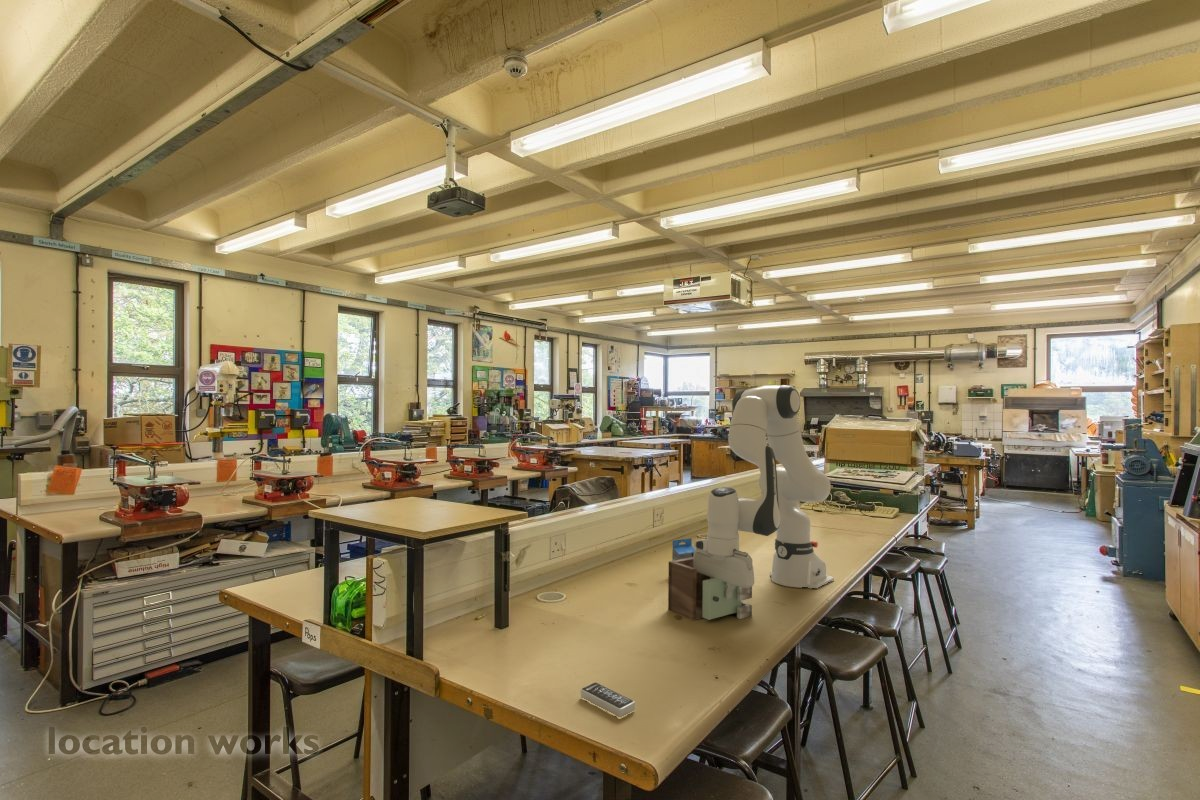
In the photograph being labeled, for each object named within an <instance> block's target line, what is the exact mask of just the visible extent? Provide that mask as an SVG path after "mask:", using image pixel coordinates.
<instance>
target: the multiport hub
mask: <svg viewBox="0 0 1200 800" xmlns="http://www.w3.org/2000/svg"><path fill="white" fill-rule="evenodd" d="M581 698H584V699H586V700H588V701H590V702H591V703H593V704H595V705H597V706H599V707H601V708H603V709H605V710H607V711H609V712H611V713H613V714H615V715H616V716H618V717H622V716H624V715H626V714H628V713H630V712H632V711H634V710H636V708H635V706H636V705H635V703H636V702H635V700H633V699H632V698H630V697H627V696H625V695H623V694H621V693H619V692H617V691H615V690H613V689H611V688H609V687H607V686H604V685H603V684H600V683H598V682H592V683H590V684H589V685H586V686H584V687H582V688H581V689H580V699H581Z"/></svg>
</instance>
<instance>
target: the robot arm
mask: <svg viewBox="0 0 1200 800" xmlns="http://www.w3.org/2000/svg"><path fill="white" fill-rule="evenodd" d="M731 407H732V416H731V420H730V424H729V429H728V445H729V449H730V450H731V451H732V452H733V453H734V454H735V456H738V457H739V458H741V459H742V460H744V461H746V462H749V463H751V464H753V465H755V466H756V467H758V469H759V471H760V473H759V478H758V485H759V488H760V491H761V492H760V493H761V495H760V497H759V498H748V497H741V496H738V491H737V490H736V489H735V488H732V487H728V486H727V487H726V486H725V487H724V486H721V487H717V488H714V489H712V490H710V492H709V496H708V500H707V501H708V502H707V513H706V515H707V516H706V519H707V523H708V528H707V534H706V538H703V539H697V540H694V542H693V547H694V548H695V550H694V555H693V567H694V568H696V569H697V573H700V574H703V575H706V576H709V577H710V579H713V578H717V579H720V580H722V581H724V582H726V586H728V588H727V590H726V591H724V597H725V598H728V599H729V598H731V597H732V591H733V589H734V588H735V585H736V586H739V587H742V588H749V587H752V588H753V586H754V585H755V571H754V570H755V569H754V565H753V558H752V557H751V555H750V554H749V553H748V552H746V551H742V550H740V534H739V532H744V533H752V534H757V535H759V536H760V535H761V536H764V537H769V536H771V535H772V534H774V533H775V532H776V535H775V536H776V538H775V539H774V550H775V552H774V553H773V558H772V567H771V568H772V569H771V572H770V573H769V577H771V578H770V580H771V581H772V582H773V583H775V584H777V585H781V586H785V587H789V588H799V589H800V588H802V587H808V588H807V589H812V588H817V589H819V588H818V587H820V586H822V585H824V584H826V583H828V582H830V581H832V580H835V578H834V577H833V576H831V575H829V574H827V565H826V563H825V561H824V560H823V559H822V558H820V557H819V556H818V555H817V554H816V553H815V552H814V551H815V550H814V548H818V547H819V542H818V541H813V540H811V519H810V517H809V516H808V514H807V513H806V512H804V511H803V510H802V509H801V508H800V506H799V504H798V502H802V503H803V502H804V503H822V502H824V501H825V500H827V498H828V497H829V495H830V493H831V489H832V487H831V482H830V479H829V477H828V476H827V475H826V474H825V473H824V472H823V471H821V470H820V469H819V468H818V467H817V466H816V465H815V464H814V463H813V461H812V460H811V459H810V457H809V455H808V453H807V451H806V448H805V446H804V440H803V437H802V433H801V427H800V423H799V419H798V415H797V414H798V412H799V411H800V409H801V408H800V407H801V397H800V393H799V392H798V390H797V389H796V388H795V387H794V386H792V385H785V384H782V385H763V386H758V387H757V386H756V387H752V388H744V389H743V388H742V389H741V390H738V391H737V392H736V393H735V394H734V395H733V397H732V401H731ZM777 462H778V463H780V464H781V466H777ZM832 582H833V581H832ZM830 583H831V582H830ZM828 584H829V583H828ZM826 585H827V584H826ZM824 586H825V585H824ZM822 587H823V586H822ZM820 588H821V587H820Z"/></svg>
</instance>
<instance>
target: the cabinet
mask: <svg viewBox="0 0 1200 800" xmlns="http://www.w3.org/2000/svg"><path fill="white" fill-rule="evenodd" d="M708 579H710V577H709V576H706V575H703V574H700V573H697V569H696V568H694V567H693V557H691V558H686V559H680V560H675V561H672V560H670V561H668V583H667V584H668V587H667V589H668V590H667V591H668V598H667V599H668V601H667V603H668V605H667V608H668V609H667V610H668V611H670V612H672V613H675V614H677V615H679V616H681V617H684V618H685V619H688V620H690V621H695V620H699V619H702V618H703V617H702V604H703V581H704V580H708ZM751 599H753V586H752V587H749V588H742V587H738V588H737V600H738V601H742V606H740V607H737V612H736V619H739V620H741V619H745V618H749V617H752V616H753V610H752V609H753V605H752V604H750V603H747V602H745V601H746V600H751Z"/></svg>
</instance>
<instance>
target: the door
mask: <svg viewBox="0 0 1200 800" xmlns="http://www.w3.org/2000/svg"><path fill="white" fill-rule="evenodd" d="M738 587H739V586H736V585H735V588H734V589H733V591H732V597H731V598H729V599H728V598H725V597H724V591H726V590H727V588H728V586H726V582H724V581H722V580H720V579H717V578H713V579H708V580H704V581H703V604H702V617H703V618H704V619H706V620H709V621H710V620H713V619H717V618H720V617H724V616H728V615H732V614H737V607H740V606H742V602H743V601H738V600H737V588H738Z"/></svg>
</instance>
